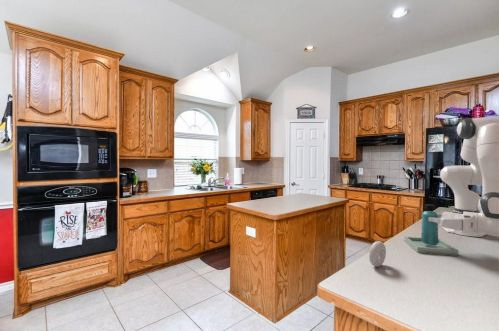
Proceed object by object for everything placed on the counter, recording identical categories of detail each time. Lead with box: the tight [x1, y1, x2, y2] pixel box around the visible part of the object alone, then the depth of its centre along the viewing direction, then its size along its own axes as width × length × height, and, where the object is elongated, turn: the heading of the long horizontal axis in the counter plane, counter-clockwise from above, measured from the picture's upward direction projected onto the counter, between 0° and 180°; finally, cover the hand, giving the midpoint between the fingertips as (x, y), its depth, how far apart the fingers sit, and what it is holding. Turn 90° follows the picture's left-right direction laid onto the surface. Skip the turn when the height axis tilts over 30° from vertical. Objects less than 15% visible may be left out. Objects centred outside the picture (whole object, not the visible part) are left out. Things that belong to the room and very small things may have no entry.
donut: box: [368, 240, 387, 268], centre depth 99 cm, size 10×4×10 cm, turn 129°
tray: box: [403, 236, 459, 257], centre depth 119 cm, size 16×16×2 cm
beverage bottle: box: [420, 203, 439, 245], centre depth 119 cm, size 6×7×20 cm
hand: (429, 216), depth 119 cm, fingers open, 8 cm apart
